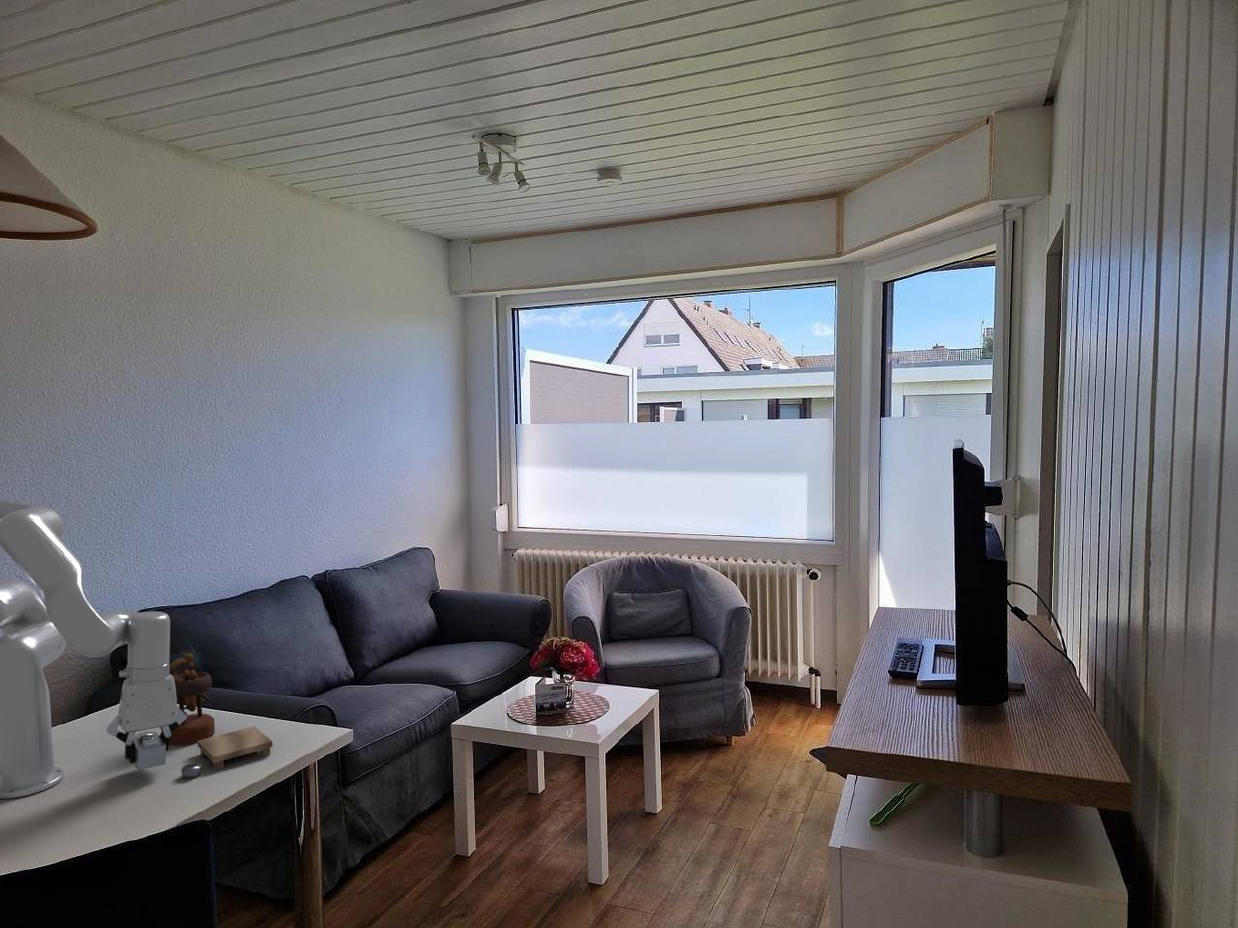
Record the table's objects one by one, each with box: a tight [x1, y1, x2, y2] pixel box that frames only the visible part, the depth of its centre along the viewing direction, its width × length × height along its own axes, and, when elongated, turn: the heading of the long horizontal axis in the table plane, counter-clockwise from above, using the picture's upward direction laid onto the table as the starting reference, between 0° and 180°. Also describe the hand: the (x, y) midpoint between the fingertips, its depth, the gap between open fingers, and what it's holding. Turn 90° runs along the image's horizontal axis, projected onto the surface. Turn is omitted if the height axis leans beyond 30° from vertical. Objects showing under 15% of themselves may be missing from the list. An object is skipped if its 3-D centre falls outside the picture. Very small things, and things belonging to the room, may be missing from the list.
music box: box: [169, 653, 216, 746], centre depth 188 cm, size 15×11×20 cm
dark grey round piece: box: [180, 762, 202, 781], centre depth 167 cm, size 4×4×2 cm
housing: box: [133, 730, 167, 771], centre depth 168 cm, size 5×9×5 cm, turn 42°
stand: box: [197, 726, 273, 771], centre depth 177 cm, size 12×12×3 cm
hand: (147, 757), depth 168 cm, fingers closed on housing, 5 cm apart
